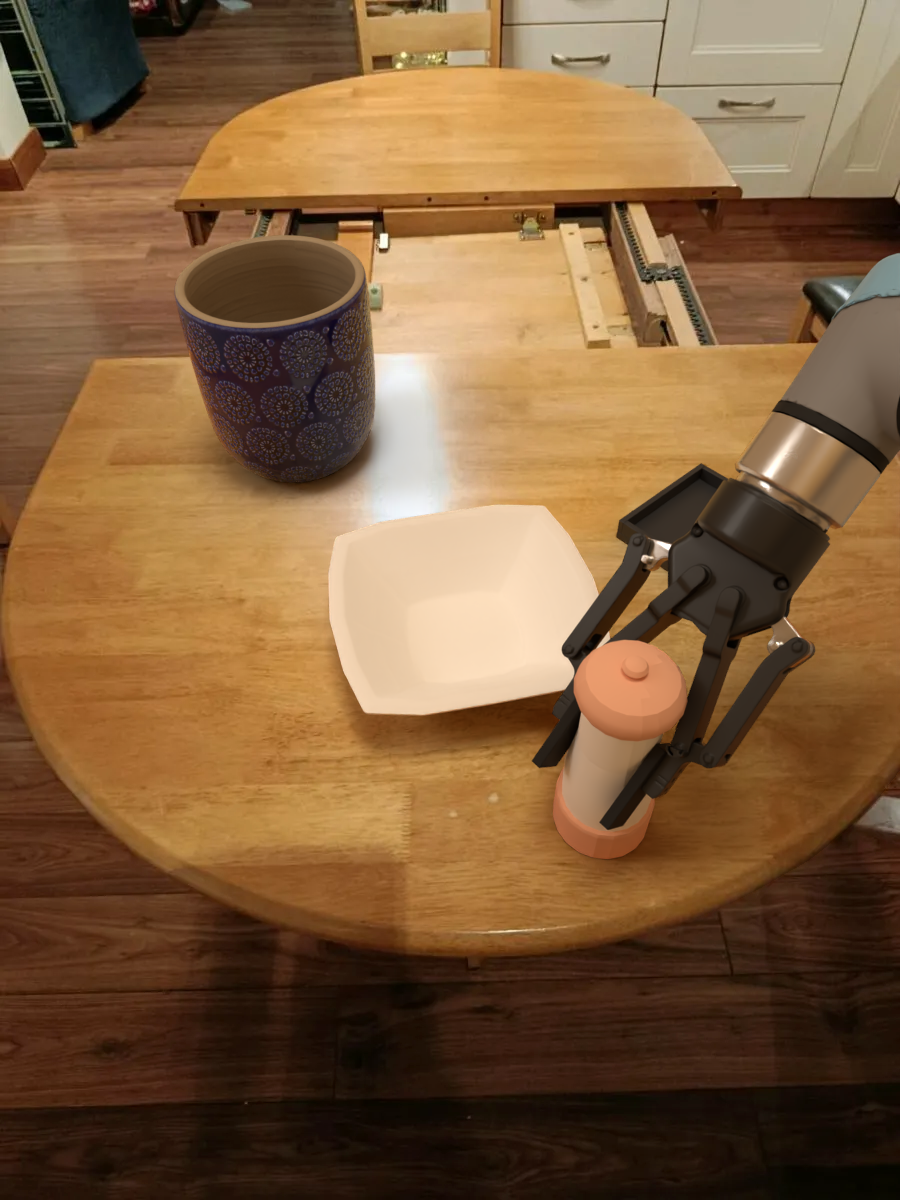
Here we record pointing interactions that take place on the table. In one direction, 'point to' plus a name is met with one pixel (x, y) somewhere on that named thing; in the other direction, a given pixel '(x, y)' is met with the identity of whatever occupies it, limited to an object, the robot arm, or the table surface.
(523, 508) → the bowl
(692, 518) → the tray
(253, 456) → the planter
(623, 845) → the pepper shaker
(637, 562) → the robot arm
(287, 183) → the table surface
